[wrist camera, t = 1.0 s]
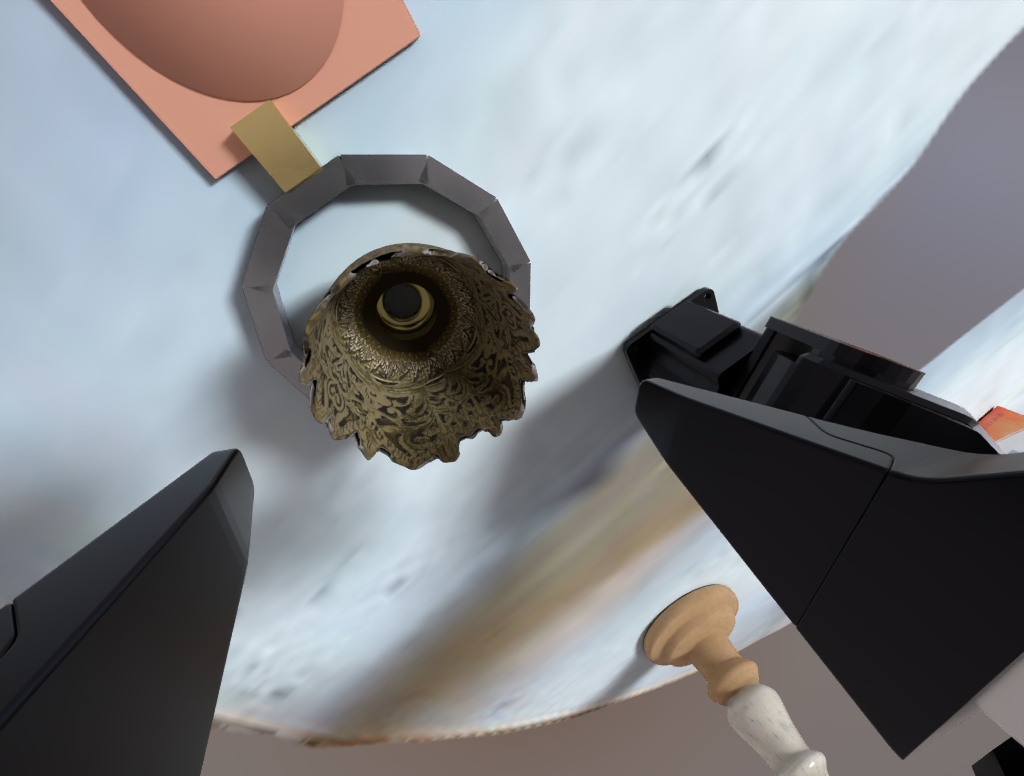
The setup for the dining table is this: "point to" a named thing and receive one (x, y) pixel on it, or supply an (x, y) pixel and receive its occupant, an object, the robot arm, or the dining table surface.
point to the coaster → (238, 58)
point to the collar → (320, 185)
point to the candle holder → (730, 677)
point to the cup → (418, 354)
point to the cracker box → (1005, 429)
